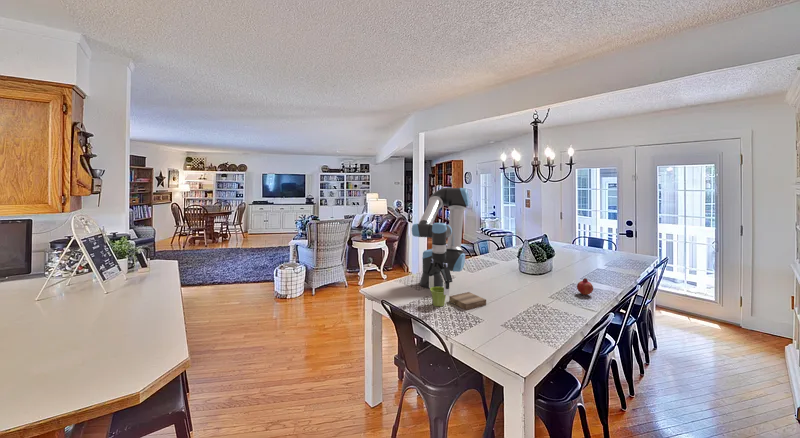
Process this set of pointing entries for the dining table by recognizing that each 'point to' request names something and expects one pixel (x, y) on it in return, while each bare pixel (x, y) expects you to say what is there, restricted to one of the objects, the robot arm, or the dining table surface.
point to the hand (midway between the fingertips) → (438, 291)
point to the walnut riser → (467, 300)
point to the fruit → (585, 287)
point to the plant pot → (438, 296)
